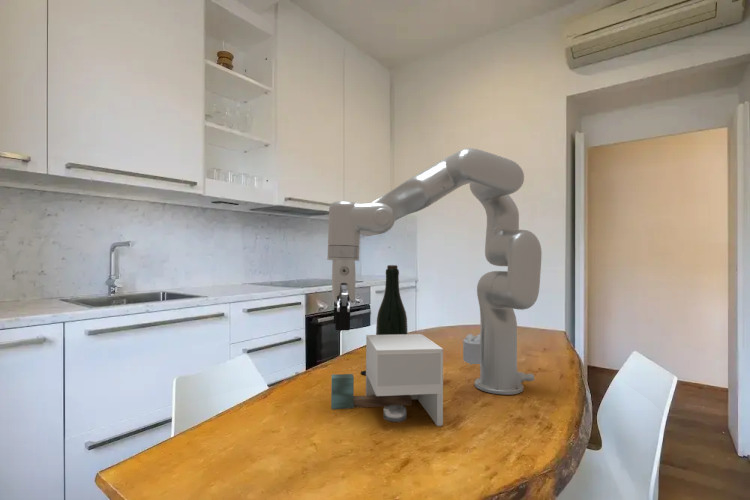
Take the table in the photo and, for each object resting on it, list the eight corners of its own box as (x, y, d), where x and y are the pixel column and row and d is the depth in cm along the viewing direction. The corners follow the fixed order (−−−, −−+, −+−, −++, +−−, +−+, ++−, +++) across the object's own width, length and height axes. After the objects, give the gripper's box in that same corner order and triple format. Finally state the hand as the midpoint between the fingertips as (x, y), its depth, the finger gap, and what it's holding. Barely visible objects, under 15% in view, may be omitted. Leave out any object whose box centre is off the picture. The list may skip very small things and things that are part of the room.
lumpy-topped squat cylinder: (501, 360, 136) (501, 335, 136) (482, 367, 127) (482, 340, 127) (475, 355, 144) (475, 331, 144) (455, 361, 134) (455, 336, 135)
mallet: (408, 401, 95) (408, 372, 95) (411, 405, 92) (411, 375, 92) (331, 404, 92) (331, 374, 92) (331, 409, 89) (332, 378, 89)
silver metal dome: (403, 412, 87) (403, 403, 88) (409, 422, 83) (409, 412, 83) (381, 414, 87) (381, 405, 87) (386, 423, 82) (386, 414, 82)
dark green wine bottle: (413, 366, 127) (414, 265, 128) (397, 373, 118) (398, 265, 120) (385, 361, 133) (386, 264, 134) (369, 368, 124) (370, 264, 125)
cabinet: (421, 397, 97) (421, 334, 98) (443, 425, 80) (443, 348, 81) (365, 399, 95) (366, 335, 96) (376, 429, 78) (376, 350, 79)
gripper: (363, 253, 84) (361, 333, 83) (355, 255, 101) (353, 321, 100) (328, 252, 83) (325, 333, 82) (326, 254, 100) (324, 321, 99)
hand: (341, 326), depth 91 cm, fingers open, 9 cm apart
